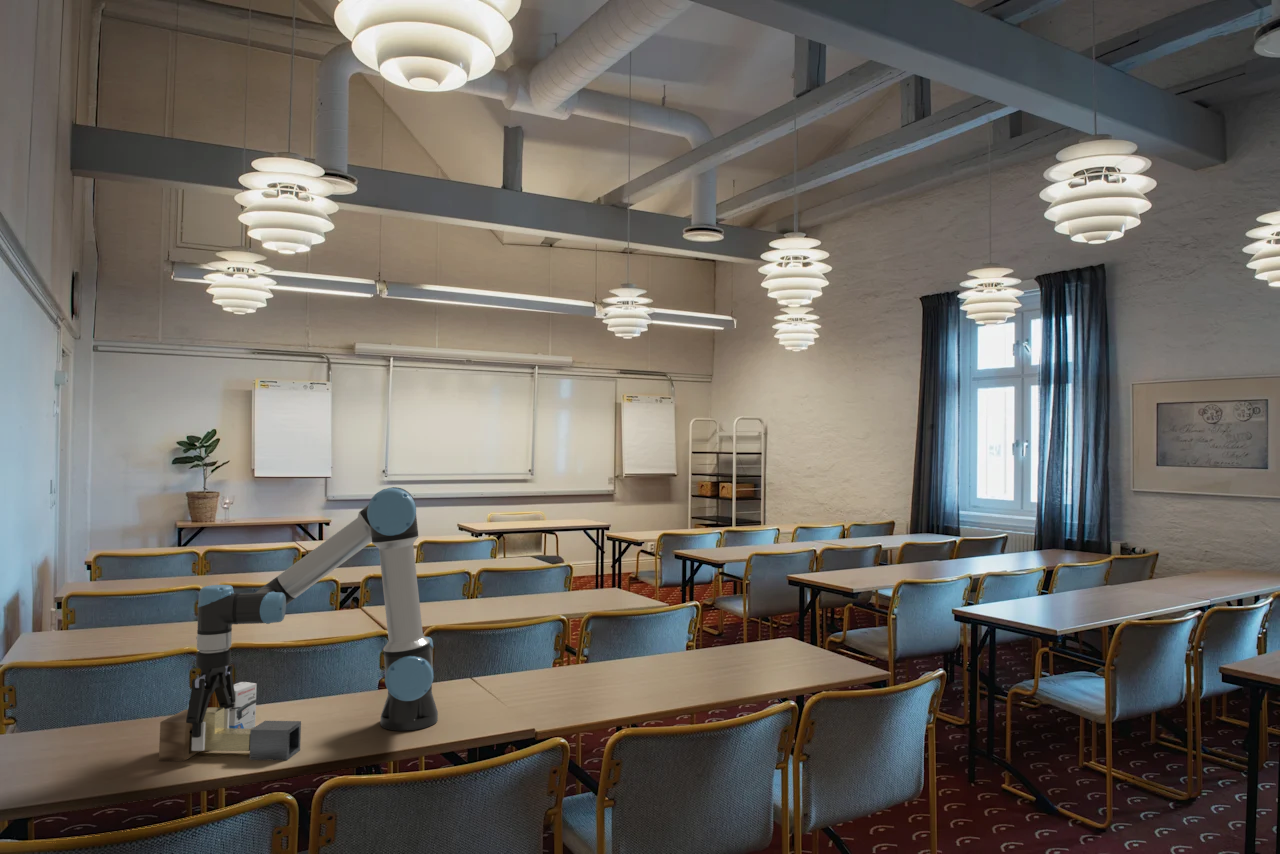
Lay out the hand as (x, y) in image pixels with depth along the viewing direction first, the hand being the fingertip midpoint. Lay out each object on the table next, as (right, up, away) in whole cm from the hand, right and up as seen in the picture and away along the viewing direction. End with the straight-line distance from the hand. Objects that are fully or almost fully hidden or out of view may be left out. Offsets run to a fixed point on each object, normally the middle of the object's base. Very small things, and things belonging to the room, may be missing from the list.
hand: (210, 742), depth 193 cm
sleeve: (+16, -3, -1) cm, 16 cm away
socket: (-6, -3, 0) cm, 7 cm away
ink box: (-2, -4, +17) cm, 17 cm away
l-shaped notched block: (+2, -1, 0) cm, 2 cm away
